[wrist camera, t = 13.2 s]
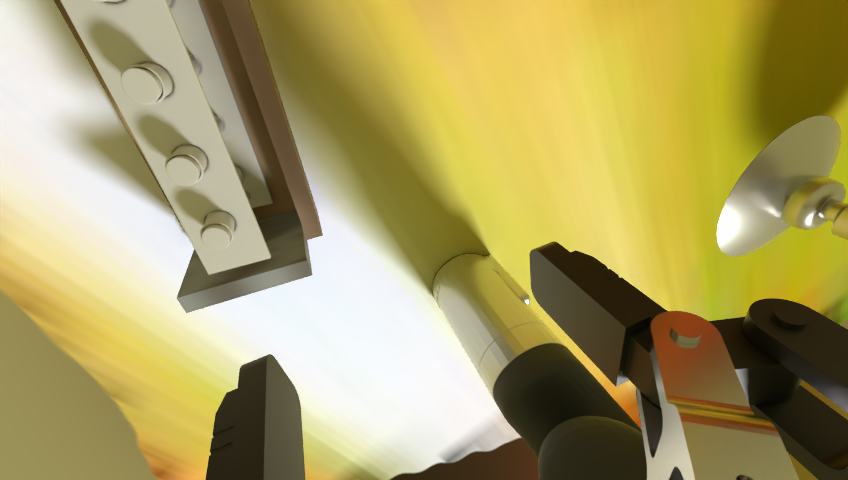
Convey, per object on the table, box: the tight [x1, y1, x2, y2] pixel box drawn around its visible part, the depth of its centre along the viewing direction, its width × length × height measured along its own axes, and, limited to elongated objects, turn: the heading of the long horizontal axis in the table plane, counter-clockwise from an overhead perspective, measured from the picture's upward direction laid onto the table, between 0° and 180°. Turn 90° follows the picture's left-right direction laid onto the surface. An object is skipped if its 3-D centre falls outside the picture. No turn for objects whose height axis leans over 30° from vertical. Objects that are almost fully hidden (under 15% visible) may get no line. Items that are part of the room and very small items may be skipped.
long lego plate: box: [60, 0, 273, 275], centre depth 23 cm, size 25×4×13 cm, turn 6°
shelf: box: [54, 0, 323, 313], centre depth 25 cm, size 12×31×12 cm, turn 7°
